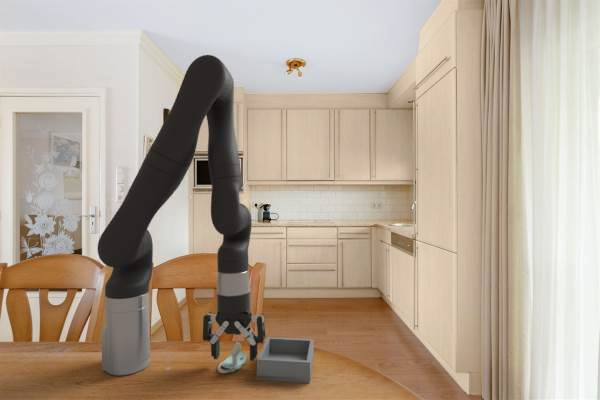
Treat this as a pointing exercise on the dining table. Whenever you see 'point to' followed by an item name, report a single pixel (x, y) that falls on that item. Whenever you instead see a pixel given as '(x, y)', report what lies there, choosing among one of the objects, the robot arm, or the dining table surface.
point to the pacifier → (233, 360)
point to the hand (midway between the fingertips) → (234, 358)
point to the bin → (286, 360)
